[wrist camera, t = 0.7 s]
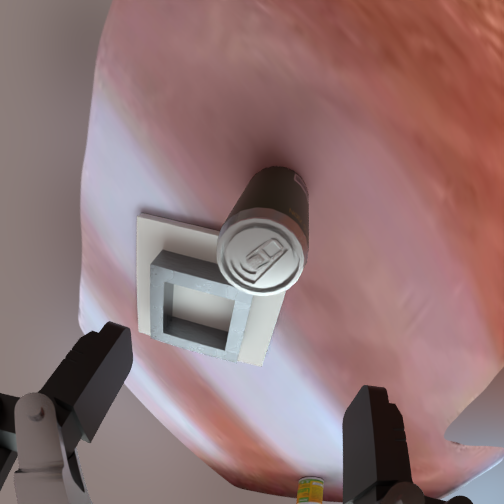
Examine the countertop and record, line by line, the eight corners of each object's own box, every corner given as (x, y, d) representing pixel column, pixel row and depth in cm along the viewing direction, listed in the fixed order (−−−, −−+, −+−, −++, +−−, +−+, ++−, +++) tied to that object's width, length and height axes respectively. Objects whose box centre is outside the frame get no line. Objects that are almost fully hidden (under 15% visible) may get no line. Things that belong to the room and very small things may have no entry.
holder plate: (141, 212, 31) (137, 216, 30) (297, 250, 31) (296, 255, 30) (141, 326, 39) (138, 331, 38) (262, 361, 38) (261, 366, 38)
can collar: (162, 249, 32) (150, 264, 29) (258, 274, 31) (254, 291, 29) (160, 321, 37) (150, 338, 34) (241, 344, 36) (236, 363, 34)
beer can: (280, 151, 26) (262, 193, 16) (320, 198, 28) (328, 266, 17) (235, 190, 29) (193, 252, 18) (275, 232, 30) (256, 313, 20)
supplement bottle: (309, 474, 54) (305, 514, 45) (328, 479, 55) (326, 517, 46) (294, 480, 56) (289, 518, 48) (312, 485, 57) (309, 521, 49)
